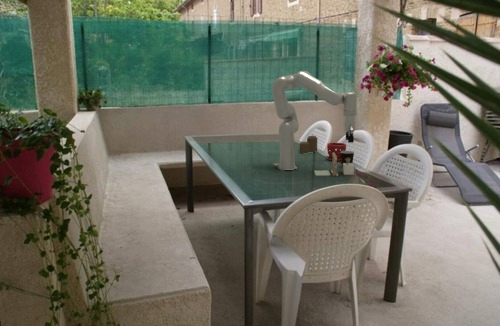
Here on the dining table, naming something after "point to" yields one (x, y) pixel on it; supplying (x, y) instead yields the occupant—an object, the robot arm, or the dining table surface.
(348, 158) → the coffee mug
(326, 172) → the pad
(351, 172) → the letter cube
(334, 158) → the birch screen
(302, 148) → the brown stepped block
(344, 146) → the plant pot
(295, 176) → the dining table surface
